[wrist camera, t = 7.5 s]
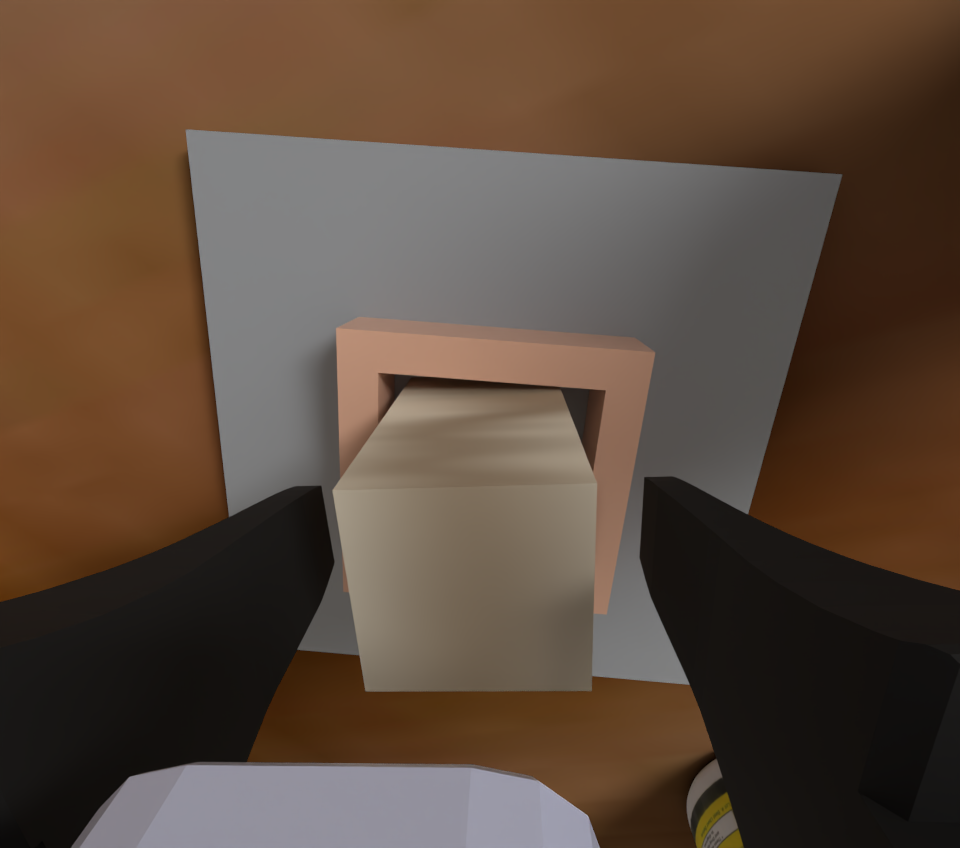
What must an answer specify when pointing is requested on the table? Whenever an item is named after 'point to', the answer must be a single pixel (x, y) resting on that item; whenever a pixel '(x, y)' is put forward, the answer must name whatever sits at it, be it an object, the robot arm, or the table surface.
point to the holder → (503, 322)
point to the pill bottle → (712, 811)
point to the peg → (471, 541)
